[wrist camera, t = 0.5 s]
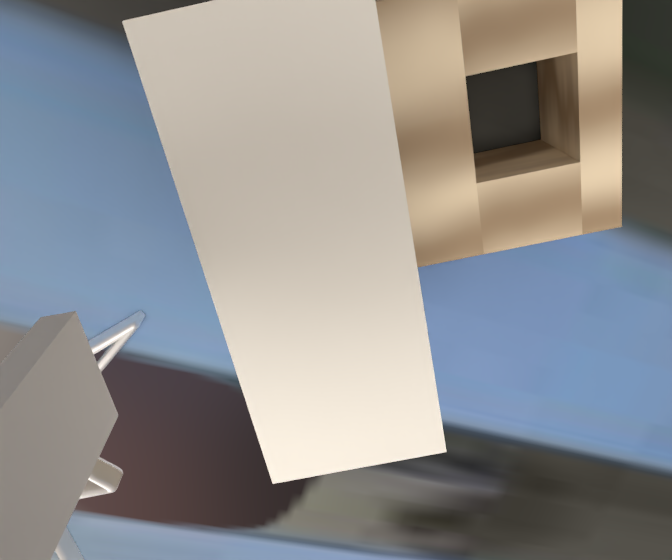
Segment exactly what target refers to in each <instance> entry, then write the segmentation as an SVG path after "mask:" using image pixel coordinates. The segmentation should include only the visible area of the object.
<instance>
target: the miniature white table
mask: <svg viewBox="0 0 672 560" xmlns="http://www.w3.org/2000/svg"><path fill="white" fill-rule="evenodd" d="M122 23H123V26H124V29H125V32H126V35H127V38H128V41H129V44H130V47H131V50H132V53H133V56H134V60H135V63H136V66H137V69H138V72H139V75H140V78H141V81H142V84H143V87H144V90H145V93H146V96H147V99H148V102H149V106H150V109H151V112H152V115H153V118H154V121H155V124H156V127H157V130H158V133H159V136H160V139H161V142H162V145H163V149H164V152H165V155H166V158H167V161H168V164H169V167H170V170H171V173H172V176H173V179H174V182H175V185H176V188H177V191H178V195H179V198H180V201H181V204H182V207H183V210H184V213H185V216H186V219H187V222H188V225H189V228H190V231H191V234H192V238H193V241H194V244H195V247H196V250H197V253H198V256H199V259H200V262H201V265H202V268H203V271H204V274H205V277H206V280H207V284H208V287H209V290H210V293H211V296H212V299H213V302H214V305H215V308H216V311H217V314H218V317H219V320H220V323H221V327H222V330H223V333H224V336H225V339H226V342H227V345H228V348H229V351H230V354H231V357H232V360H233V363H234V366H235V369H236V373H237V376H238V379H239V382H240V385H241V388H242V391H243V394H244V397H245V400H246V403H247V406H248V409H249V412H250V415H251V418H252V422H253V424H254V428H255V430H256V434H257V437H258V440H259V443H260V446H261V449H262V452H263V455H264V458H265V462H266V465H267V468H268V471H269V473H270V477H271V480H272V483H273V484H274V483H280V482H285V481H290V480H295V479H301V478H307V477H312V476H318V475H323V474H329V473H334V472H340V471H345V470H351V469H356V468H361V467H367V466H372V465H378V464H383V463H389V462H394V461H400V460H405V459H410V458H416V457H421V456H427V455H432V454H438V453H443V452H446V446H445V439H444V433H443V426H442V420H441V414H440V407H439V401H438V395H437V388H436V382H435V376H434V369H433V363H432V357H431V350H430V344H429V338H428V331H427V325H426V319H425V312H424V306H423V300H422V293H421V287H420V281H419V274H418V268H417V262H416V255H415V249H414V242H413V236H412V230H411V223H410V217H409V211H408V204H407V198H406V192H405V185H404V179H403V173H402V166H401V160H400V154H399V147H398V141H397V135H396V128H395V122H394V116H393V109H392V103H391V97H390V90H389V84H388V77H387V71H386V65H385V58H384V52H383V46H382V39H381V33H380V27H379V20H378V14H377V8H376V1H375V0H213V1H208V2H204V3H199V4H195V5H191V6H186V7H182V8H177V9H173V10H169V11H164V12H160V13H155V14H151V15H146V16H142V17H138V18H133V19H129V20H124V21H122Z"/></svg>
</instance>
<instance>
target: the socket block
mask: <svg viewBox="0 0 672 560" xmlns="http://www.w3.org/2000/svg"><path fill="white" fill-rule="evenodd" d="M376 8H377V14H378V20H379V27H380V33H381V39H382V46H383V52H384V58H385V65H386V71H387V77H388V84H389V90H390V97H391V103H392V109H393V116H394V122H395V128H396V135H397V141H398V147H399V154H400V160H401V166H402V173H403V179H404V185H405V192H406V198H407V204H408V211H409V217H410V223H411V230H412V236H413V242H414V249H415V255H416V262H417V267H422V266H427V265H432V264H437V263H442V262H447V261H452V260H457V259H462V258H467V257H472V256H477V255H482V254H487V253H492V252H497V251H502V250H507V249H512V248H517V247H522V246H527V245H532V244H537V243H542V242H547V241H552V240H557V239H562V238H567V237H572V236H577V235H582V234H587V233H592V232H597V231H602V230H607V229H612V228H617V227H622V0H377V1H376ZM534 61H537V78H538V96H539V114H540V132H541V140H536V141H532V142H527V143H522V144H517V145H512V146H508V147H503V148H498V149H493V150H488V151H484V152H479V153H474V154H473V145H472V136H471V126H470V117H469V107H468V97H467V88H466V78H465V76H469V75H474V74H478V73H483V72H488V71H492V70H497V69H502V68H506V67H511V66H515V65H520V64H525V63H529V62H534Z"/></svg>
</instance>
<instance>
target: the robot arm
mask: <svg viewBox="0 0 672 560" xmlns="http://www.w3.org/2000/svg"><path fill="white" fill-rule="evenodd" d="M117 417H118V413H117V411H116V408H115V406H114V403H113V401H112V398H111V396H110V394H109V391H108V389H107V386H106V384H105V382H104V379H103V376H102V374H101V372H100V369H99V367H98V364H97V362H96V359H95V357H94V354H93V352H92V350H91V347H90V345H89V342H88V340H87V337H86V335H85V333H84V330H83V328H82V325H81V323H80V320H79V318H78V315H77V313H76V311H74V312H68V313H63V314H57V315H51V316H46V317H41V318H40V319H39V320H38V321H37V322H36V323H35V324H34V326H33V327H32V328H31V329H30V330H29V331H28V333H27V334H26V335H25V336H24V337H23V338H22V339H21V341H20V342H19V343H18V344H17V345H16V346H15V347H14V349H13V350H12V351H11V352H10V353H9V355H8V356H7V357H6V358H5V359H4V360H3V361H2V362H1V364H0V560H51V558H52V556H53V553H54V551H55V549H56V547H57V545H58V543H59V541H60V539H61V536H62V534H63V532H64V530H65V528H66V526H67V524H68V522H69V519H70V517H71V515H72V513H73V511H74V509H75V507H76V504H77V502H78V500H79V498H80V496H81V494H82V492H83V490H84V487H85V485H86V483H87V481H88V479H89V477H90V475H91V473H92V470H93V468H94V466H95V464H96V462H97V460H98V458H99V456H100V453H101V451H102V449H103V447H104V445H105V443H106V440H107V439H108V436H109V434H110V432H111V430H112V428H113V426H114V424H115V421H116V419H117Z"/></svg>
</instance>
